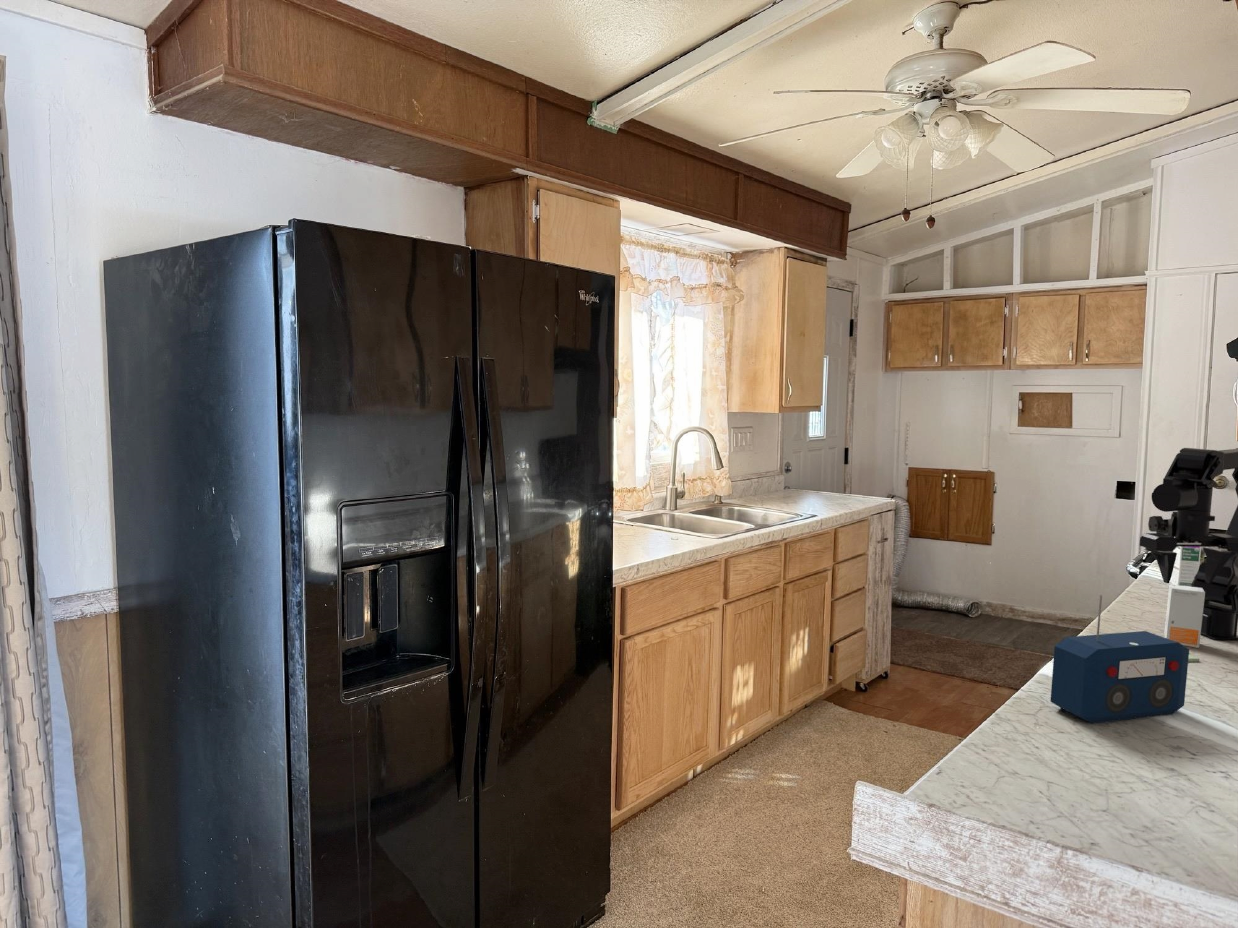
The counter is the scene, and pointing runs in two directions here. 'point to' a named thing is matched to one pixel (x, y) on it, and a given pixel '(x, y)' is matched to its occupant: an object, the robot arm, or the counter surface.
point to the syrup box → (1186, 565)
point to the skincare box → (1184, 615)
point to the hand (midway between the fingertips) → (1187, 582)
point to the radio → (1119, 675)
